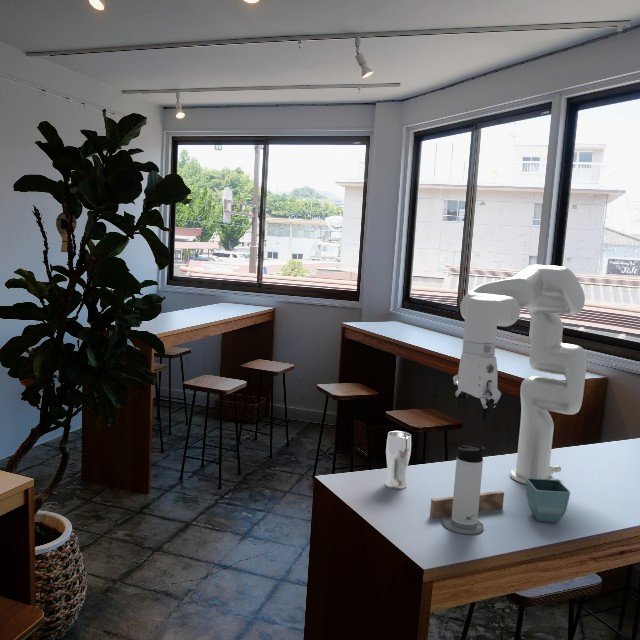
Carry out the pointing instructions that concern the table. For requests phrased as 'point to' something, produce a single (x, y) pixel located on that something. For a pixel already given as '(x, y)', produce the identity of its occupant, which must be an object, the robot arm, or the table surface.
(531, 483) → the flower pot
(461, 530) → the grey flat disc
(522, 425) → the robot arm
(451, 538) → the table surface
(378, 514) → the table surface
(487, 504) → the rail
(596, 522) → the table surface
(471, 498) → the travel mug
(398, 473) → the beer glass
